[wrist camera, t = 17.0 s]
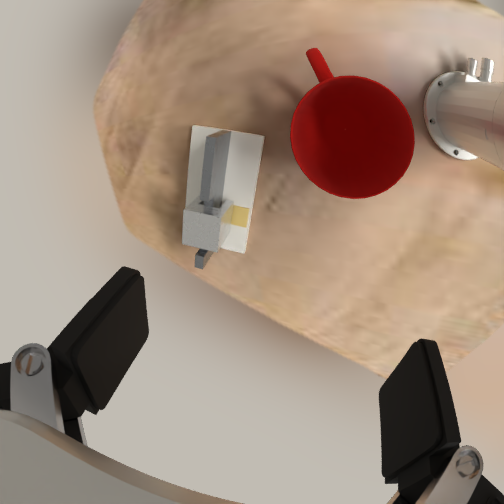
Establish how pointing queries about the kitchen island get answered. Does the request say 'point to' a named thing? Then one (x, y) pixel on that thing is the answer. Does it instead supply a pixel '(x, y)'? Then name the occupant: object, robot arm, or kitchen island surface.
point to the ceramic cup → (351, 134)
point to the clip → (206, 225)
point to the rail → (213, 179)
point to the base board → (230, 178)
